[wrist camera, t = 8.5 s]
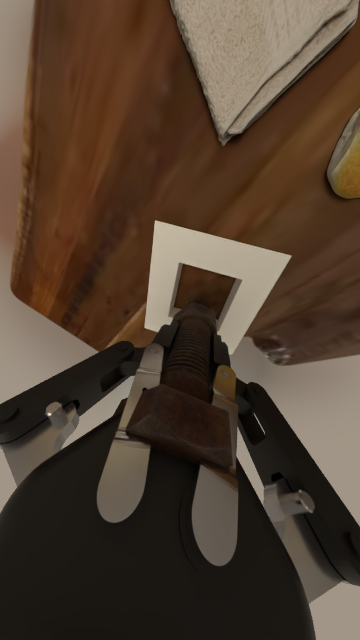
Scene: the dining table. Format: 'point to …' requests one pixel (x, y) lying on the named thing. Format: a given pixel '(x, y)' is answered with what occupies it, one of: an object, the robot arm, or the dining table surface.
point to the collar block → (218, 256)
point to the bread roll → (347, 161)
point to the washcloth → (256, 50)
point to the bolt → (185, 396)
